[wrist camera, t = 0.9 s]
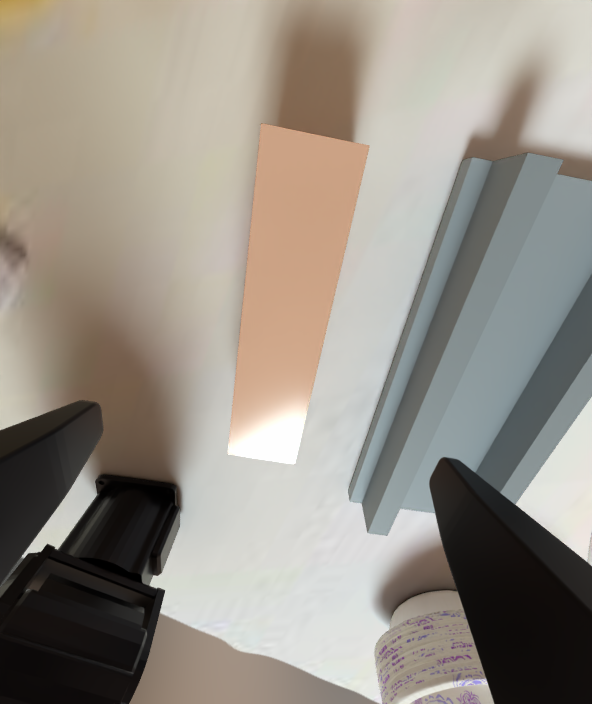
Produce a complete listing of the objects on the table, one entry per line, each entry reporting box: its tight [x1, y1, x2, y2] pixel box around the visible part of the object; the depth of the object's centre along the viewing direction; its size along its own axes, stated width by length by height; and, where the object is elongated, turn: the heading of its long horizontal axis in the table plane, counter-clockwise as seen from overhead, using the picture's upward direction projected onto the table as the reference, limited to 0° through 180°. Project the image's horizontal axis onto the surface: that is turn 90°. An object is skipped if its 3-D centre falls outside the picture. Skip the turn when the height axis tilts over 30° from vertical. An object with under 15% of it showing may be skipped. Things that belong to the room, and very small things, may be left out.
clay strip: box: [228, 123, 369, 464], centre depth 17 cm, size 4×16×5 cm, turn 170°
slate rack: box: [348, 153, 592, 536], centre depth 19 cm, size 11×24×4 cm, turn 171°
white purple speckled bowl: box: [374, 590, 494, 704], centre depth 30 cm, size 15×15×8 cm
